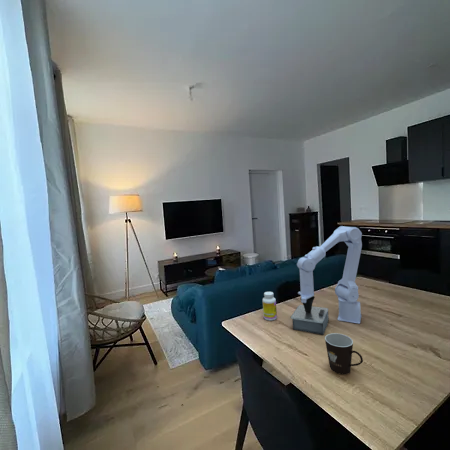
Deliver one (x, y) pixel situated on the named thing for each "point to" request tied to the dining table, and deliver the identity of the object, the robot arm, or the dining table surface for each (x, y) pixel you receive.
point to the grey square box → (311, 326)
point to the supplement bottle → (269, 306)
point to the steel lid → (310, 314)
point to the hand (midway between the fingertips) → (308, 312)
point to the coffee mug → (340, 353)
